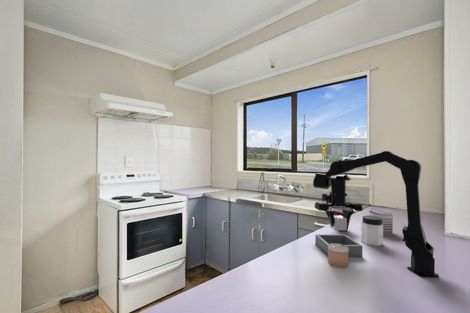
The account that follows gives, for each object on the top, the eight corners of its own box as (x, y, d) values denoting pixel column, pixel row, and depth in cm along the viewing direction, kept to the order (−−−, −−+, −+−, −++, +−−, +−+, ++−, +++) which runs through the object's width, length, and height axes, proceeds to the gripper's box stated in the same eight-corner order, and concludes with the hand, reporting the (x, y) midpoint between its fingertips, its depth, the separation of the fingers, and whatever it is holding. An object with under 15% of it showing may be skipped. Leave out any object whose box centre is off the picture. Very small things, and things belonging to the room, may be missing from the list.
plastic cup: (340, 234, 125) (340, 211, 125) (327, 228, 135) (327, 207, 135) (357, 232, 127) (357, 210, 127) (343, 226, 138) (343, 206, 138)
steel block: (346, 230, 100) (346, 218, 100) (334, 230, 100) (335, 218, 100) (340, 226, 105) (340, 215, 105) (329, 226, 105) (329, 215, 105)
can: (384, 229, 135) (384, 208, 135) (398, 235, 124) (398, 212, 124) (364, 229, 135) (364, 207, 135) (377, 235, 123) (377, 212, 123)
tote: (362, 256, 96) (362, 245, 96) (328, 256, 95) (328, 245, 95) (345, 244, 110) (345, 234, 110) (315, 244, 109) (315, 234, 109)
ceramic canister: (352, 268, 86) (352, 248, 86) (332, 268, 86) (333, 247, 86) (342, 259, 93) (342, 240, 93) (324, 259, 93) (324, 240, 93)
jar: (376, 247, 107) (376, 220, 107) (358, 241, 113) (358, 216, 113) (385, 243, 111) (386, 218, 111) (368, 238, 118) (368, 214, 118)
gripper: (349, 188, 111) (349, 221, 111) (310, 187, 110) (310, 221, 110) (363, 191, 100) (363, 228, 100) (319, 191, 99) (319, 228, 99)
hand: (337, 226), depth 103 cm, fingers closed on steel block, 5 cm apart
